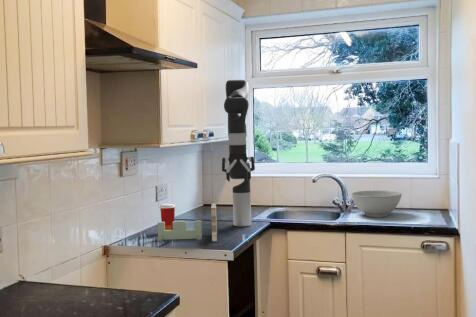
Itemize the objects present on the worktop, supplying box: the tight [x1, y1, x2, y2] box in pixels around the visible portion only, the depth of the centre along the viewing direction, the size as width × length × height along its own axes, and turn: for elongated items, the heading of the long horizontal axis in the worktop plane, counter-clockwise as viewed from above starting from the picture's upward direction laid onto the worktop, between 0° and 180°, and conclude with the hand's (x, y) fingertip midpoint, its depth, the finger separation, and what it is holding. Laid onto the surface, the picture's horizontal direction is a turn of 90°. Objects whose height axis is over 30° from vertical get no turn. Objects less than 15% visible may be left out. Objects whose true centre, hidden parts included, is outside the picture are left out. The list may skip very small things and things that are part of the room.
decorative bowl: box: [351, 190, 403, 218], centre depth 286 cm, size 27×27×12 cm
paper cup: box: [159, 202, 176, 230], centre depth 254 cm, size 8×8×14 cm
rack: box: [156, 220, 203, 242], centre depth 240 cm, size 8×20×8 cm, turn 92°
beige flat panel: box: [210, 202, 218, 242], centre depth 240 cm, size 16×2×15 cm, turn 2°
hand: (238, 180), depth 226 cm, fingers open, 8 cm apart
